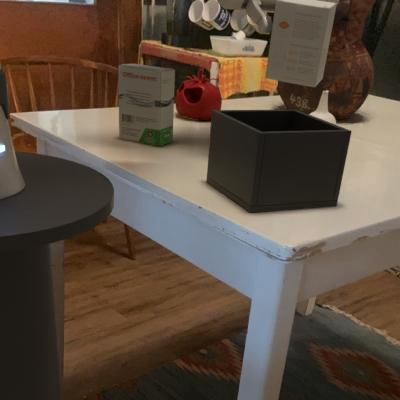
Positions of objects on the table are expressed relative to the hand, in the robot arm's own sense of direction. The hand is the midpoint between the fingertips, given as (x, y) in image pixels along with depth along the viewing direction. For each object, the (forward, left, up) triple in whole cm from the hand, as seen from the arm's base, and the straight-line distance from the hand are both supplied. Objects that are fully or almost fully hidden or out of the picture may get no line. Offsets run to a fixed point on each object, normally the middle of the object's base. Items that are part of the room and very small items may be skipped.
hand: (290, 32), depth 91 cm
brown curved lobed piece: (+34, +36, -19) cm, 53 cm away
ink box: (-16, +16, -19) cm, 30 cm away
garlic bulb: (+22, +18, -19) cm, 34 cm away
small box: (+1, -1, -6) cm, 7 cm away
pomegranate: (+2, +34, -19) cm, 39 cm away
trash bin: (-9, -16, -19) cm, 26 cm away
